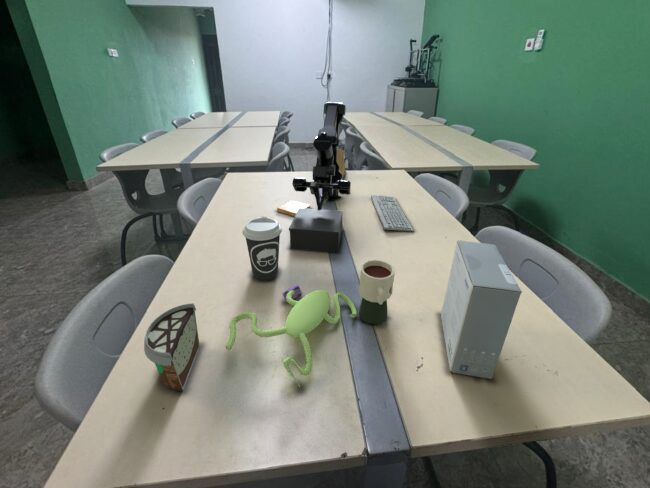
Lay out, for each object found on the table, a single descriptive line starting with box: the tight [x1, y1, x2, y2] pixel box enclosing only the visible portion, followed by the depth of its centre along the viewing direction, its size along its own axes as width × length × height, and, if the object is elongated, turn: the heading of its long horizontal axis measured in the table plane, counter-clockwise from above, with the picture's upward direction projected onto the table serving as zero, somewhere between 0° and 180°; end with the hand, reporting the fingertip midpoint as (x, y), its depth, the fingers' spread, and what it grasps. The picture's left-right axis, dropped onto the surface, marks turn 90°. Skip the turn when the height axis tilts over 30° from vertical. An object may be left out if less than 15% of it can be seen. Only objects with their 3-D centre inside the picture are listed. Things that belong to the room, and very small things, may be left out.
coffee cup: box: [242, 216, 283, 282], centre depth 81 cm, size 10×10×15 cm
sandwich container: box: [337, 148, 347, 178], centre depth 160 cm, size 9×15×15 cm, turn 172°
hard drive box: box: [440, 240, 523, 380], centre depth 61 cm, size 16×8×20 cm, turn 170°
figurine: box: [225, 283, 358, 388], centre depth 66 cm, size 18×27×6 cm
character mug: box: [358, 259, 396, 325], centre depth 68 cm, size 11×7×13 cm, turn 4°
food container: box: [143, 303, 201, 392], centre depth 56 cm, size 12×6×10 cm, turn 5°
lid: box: [288, 208, 344, 234], centre depth 98 cm, size 15×15×1 cm
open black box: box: [289, 213, 344, 254], centre depth 100 cm, size 14×15×7 cm
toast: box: [276, 199, 311, 217], centre depth 121 cm, size 9×9×2 cm
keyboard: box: [370, 194, 414, 232], centre depth 121 cm, size 29×10×2 cm, turn 3°
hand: (319, 210), depth 101 cm, fingers closed
